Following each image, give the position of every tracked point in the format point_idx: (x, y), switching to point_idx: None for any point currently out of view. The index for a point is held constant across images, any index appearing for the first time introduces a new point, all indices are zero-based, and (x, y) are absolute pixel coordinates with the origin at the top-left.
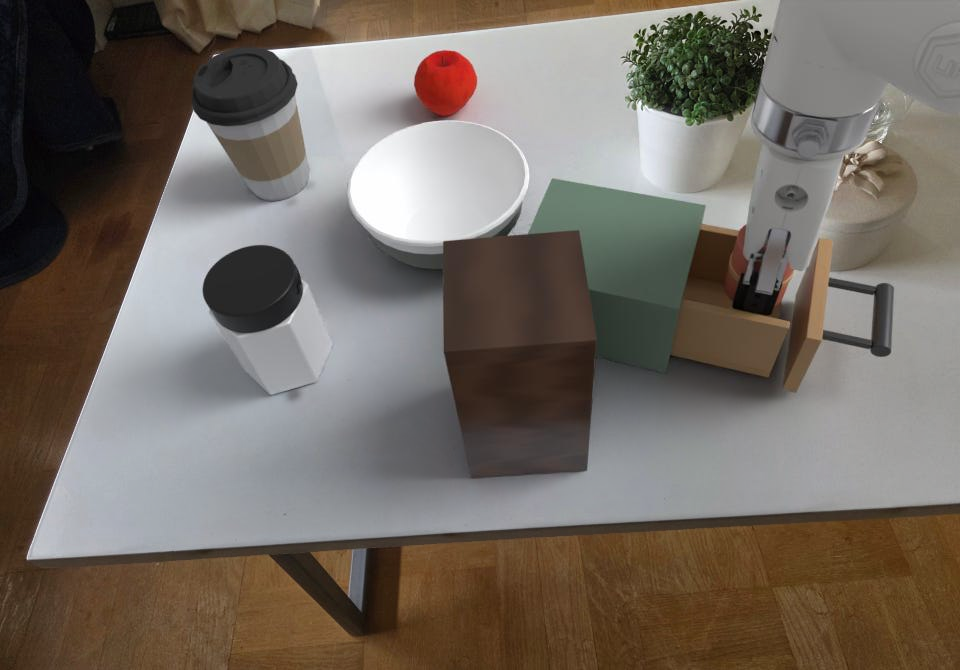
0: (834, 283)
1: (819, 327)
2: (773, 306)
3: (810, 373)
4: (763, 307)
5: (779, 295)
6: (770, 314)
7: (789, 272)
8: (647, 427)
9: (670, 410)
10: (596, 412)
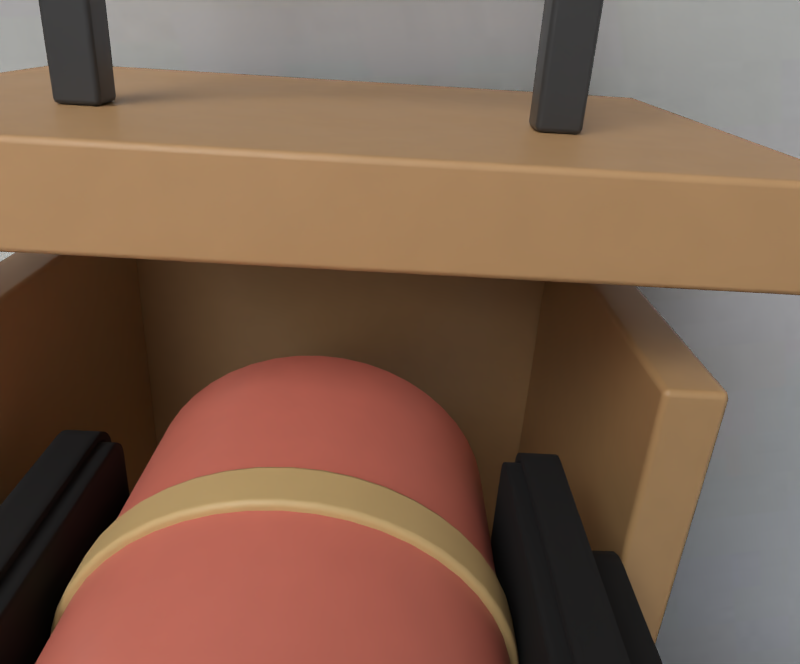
0: (89, 24)
1: (741, 209)
2: (572, 508)
3: (479, 24)
4: (634, 593)
5: (429, 452)
6: (557, 458)
7: (418, 623)
8: (772, 531)
9: (706, 483)
10: (724, 646)
